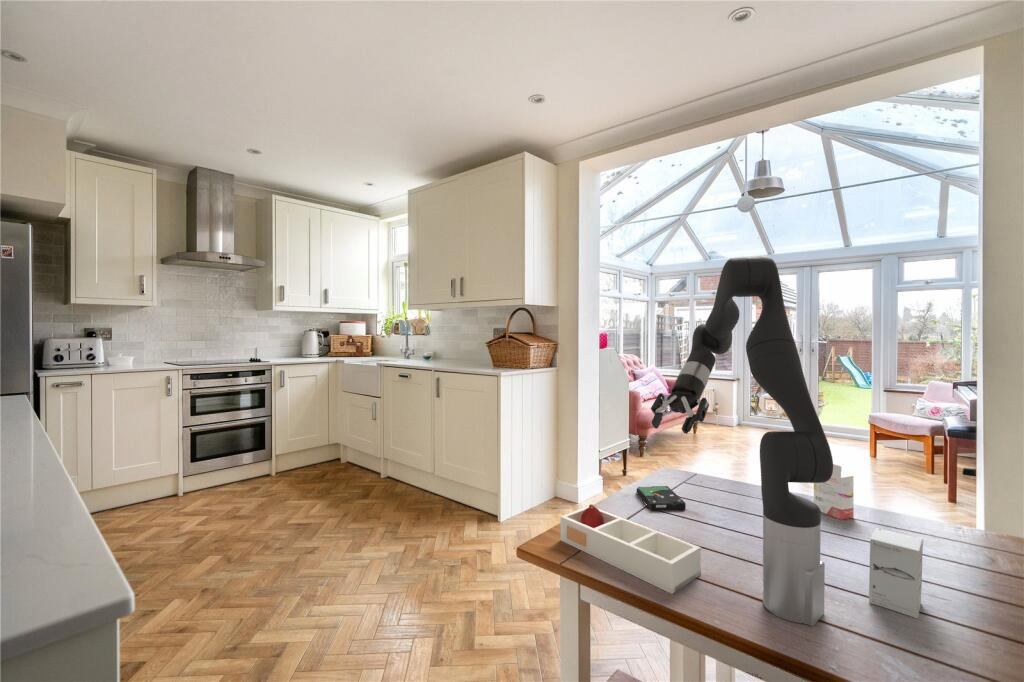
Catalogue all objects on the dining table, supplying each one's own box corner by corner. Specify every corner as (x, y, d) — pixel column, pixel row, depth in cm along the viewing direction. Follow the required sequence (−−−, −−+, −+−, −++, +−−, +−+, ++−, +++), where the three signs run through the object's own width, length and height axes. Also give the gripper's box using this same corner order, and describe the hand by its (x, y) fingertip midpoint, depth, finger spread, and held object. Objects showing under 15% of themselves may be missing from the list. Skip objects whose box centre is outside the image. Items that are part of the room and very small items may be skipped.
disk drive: (686, 512, 135) (667, 493, 150) (686, 502, 135) (667, 485, 150) (651, 513, 134) (635, 494, 149) (651, 503, 134) (635, 485, 149)
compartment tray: (700, 575, 99) (700, 547, 99) (670, 594, 92) (670, 564, 92) (590, 528, 123) (589, 505, 123) (559, 540, 116) (559, 516, 116)
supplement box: (867, 603, 89) (868, 537, 88) (874, 588, 94) (874, 526, 93) (919, 620, 83) (919, 550, 83) (922, 603, 88) (923, 537, 88)
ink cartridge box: (854, 518, 128) (855, 465, 128) (841, 520, 127) (841, 466, 126) (825, 506, 136) (825, 457, 136) (812, 509, 135) (812, 458, 134)
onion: (585, 528, 120) (585, 498, 120) (607, 533, 117) (607, 502, 117) (577, 537, 115) (576, 505, 115) (599, 543, 112) (599, 510, 112)
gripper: (662, 371, 132) (639, 416, 124) (712, 374, 121) (689, 424, 113) (673, 388, 135) (650, 433, 128) (721, 393, 124) (700, 442, 117)
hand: (668, 429), depth 121 cm, fingers open, 8 cm apart
